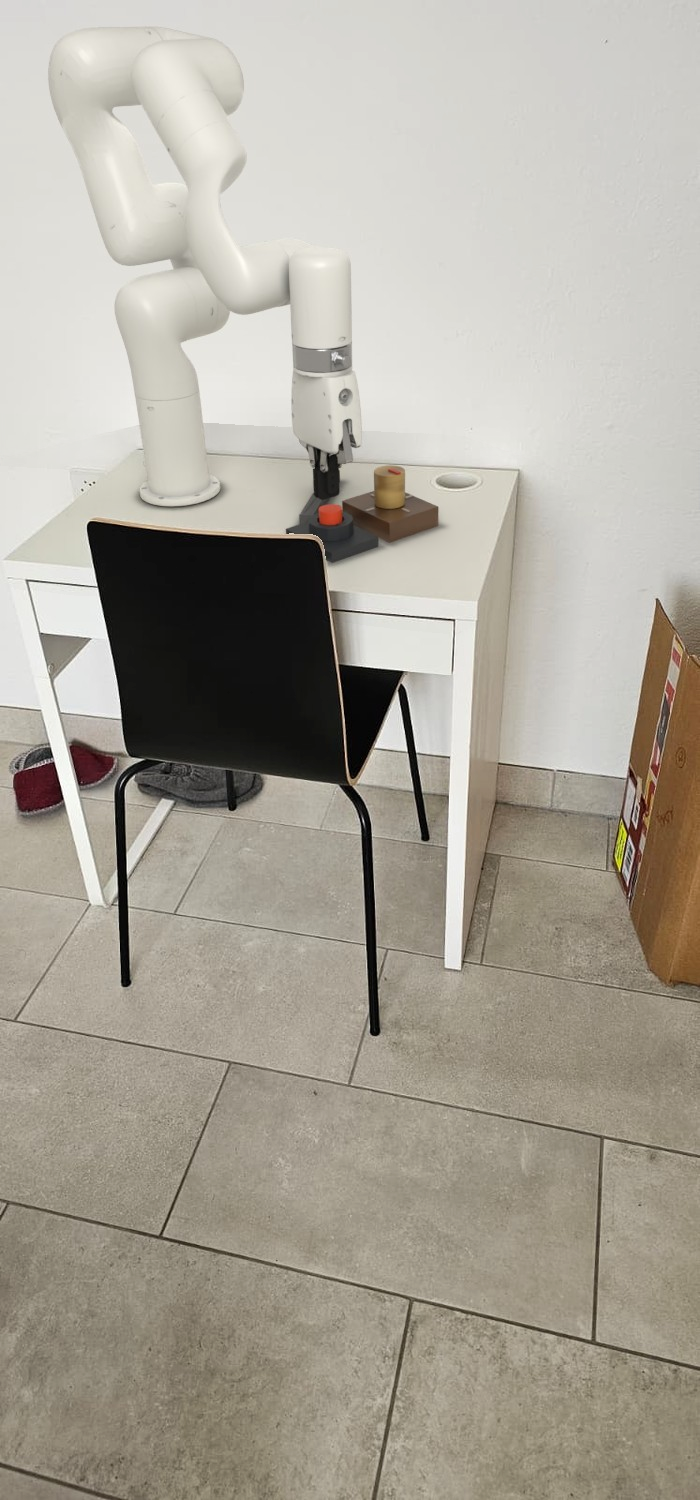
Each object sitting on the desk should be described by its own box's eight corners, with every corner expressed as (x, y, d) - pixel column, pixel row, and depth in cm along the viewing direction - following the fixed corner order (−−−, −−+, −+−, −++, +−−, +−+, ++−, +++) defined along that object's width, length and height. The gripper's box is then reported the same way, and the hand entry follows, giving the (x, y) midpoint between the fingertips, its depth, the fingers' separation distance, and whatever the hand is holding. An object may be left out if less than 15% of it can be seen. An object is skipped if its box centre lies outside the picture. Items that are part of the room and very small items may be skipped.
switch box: (286, 538, 144) (284, 515, 142) (331, 523, 148) (330, 500, 146) (332, 563, 137) (330, 539, 135) (378, 547, 141) (378, 523, 139)
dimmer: (342, 520, 149) (341, 499, 147) (390, 504, 153) (389, 484, 151) (389, 543, 142) (389, 521, 140) (438, 526, 146) (438, 505, 144)
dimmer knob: (368, 502, 146) (367, 468, 143) (391, 495, 148) (391, 460, 145) (387, 511, 143) (387, 476, 140) (411, 503, 145) (411, 468, 142)
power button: (314, 521, 141) (314, 508, 140) (333, 515, 142) (332, 502, 141) (328, 528, 139) (327, 514, 138) (347, 522, 140) (346, 508, 139)
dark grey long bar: (317, 530, 147) (315, 502, 144) (299, 529, 147) (297, 501, 145) (343, 482, 161) (343, 456, 159) (327, 482, 162) (326, 456, 159)
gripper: (382, 364, 125) (382, 505, 136) (312, 340, 135) (317, 474, 145) (333, 375, 121) (337, 520, 132) (265, 350, 131) (273, 486, 142)
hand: (326, 495), depth 139 cm, fingers closed
